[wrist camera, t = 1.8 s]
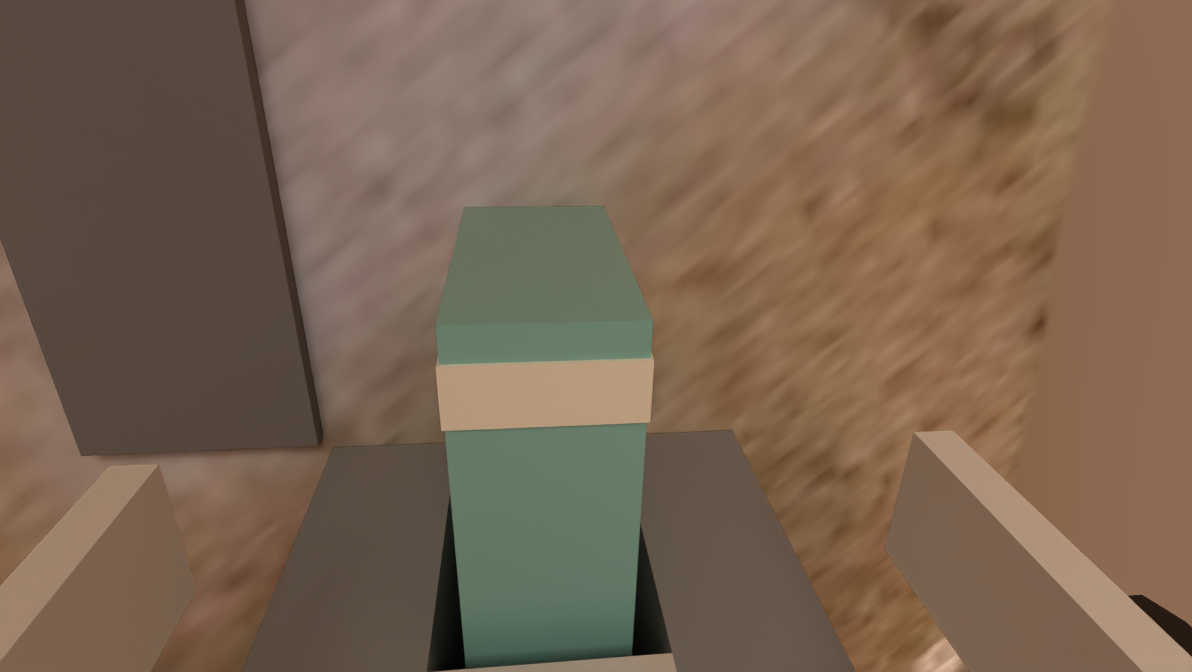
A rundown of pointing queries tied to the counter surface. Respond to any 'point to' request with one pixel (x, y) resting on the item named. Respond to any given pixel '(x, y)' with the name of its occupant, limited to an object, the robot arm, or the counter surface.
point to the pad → (151, 226)
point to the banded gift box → (544, 432)
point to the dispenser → (430, 582)
